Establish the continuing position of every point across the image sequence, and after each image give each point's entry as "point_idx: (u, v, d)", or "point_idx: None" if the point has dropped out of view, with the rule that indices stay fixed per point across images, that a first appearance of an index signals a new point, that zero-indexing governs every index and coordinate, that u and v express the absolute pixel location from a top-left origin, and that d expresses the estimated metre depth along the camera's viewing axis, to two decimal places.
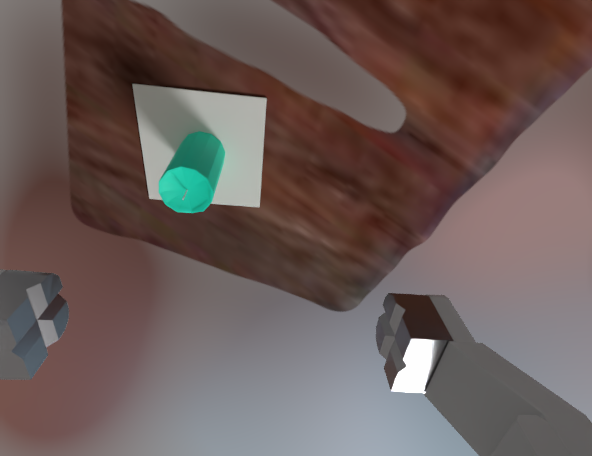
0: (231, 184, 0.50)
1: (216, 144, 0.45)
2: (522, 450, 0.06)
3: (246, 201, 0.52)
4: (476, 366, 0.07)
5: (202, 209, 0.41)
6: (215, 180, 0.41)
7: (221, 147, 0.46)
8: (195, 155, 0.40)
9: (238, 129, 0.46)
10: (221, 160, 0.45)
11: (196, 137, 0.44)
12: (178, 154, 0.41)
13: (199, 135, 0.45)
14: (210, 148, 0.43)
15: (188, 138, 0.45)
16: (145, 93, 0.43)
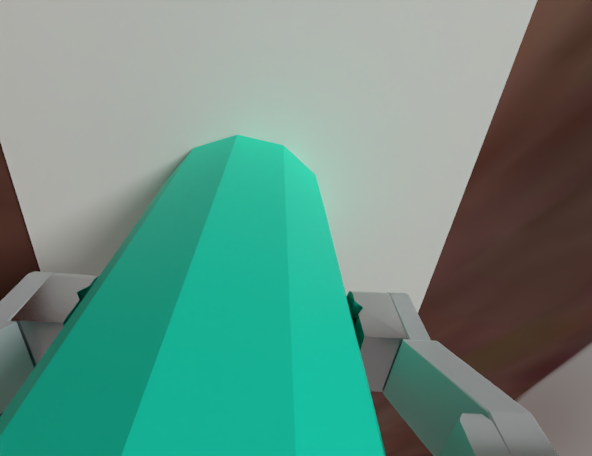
0: (386, 122, 0.12)
1: (174, 174, 0.11)
2: (463, 449, 0.06)
3: (489, 62, 0.11)
4: (428, 364, 0.07)
5: None
6: (158, 318, 0.05)
7: (202, 151, 0.11)
8: None
9: (125, 69, 0.11)
10: (215, 171, 0.09)
11: None
12: None
13: None
14: (142, 217, 0.09)
15: None
16: None
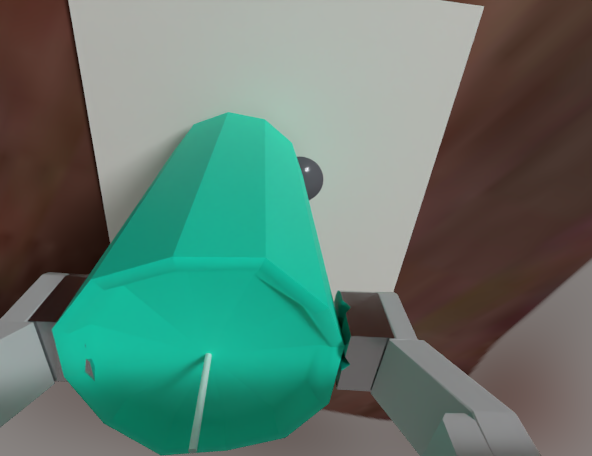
0: (373, 105, 0.16)
1: (180, 143, 0.14)
2: (445, 449, 0.06)
3: (449, 60, 0.15)
4: (413, 363, 0.07)
5: (317, 311, 0.07)
6: (186, 201, 0.08)
7: (201, 125, 0.14)
8: None
9: (183, 64, 0.15)
10: (213, 135, 0.12)
11: None
12: None
13: None
14: (160, 171, 0.12)
15: None
16: None
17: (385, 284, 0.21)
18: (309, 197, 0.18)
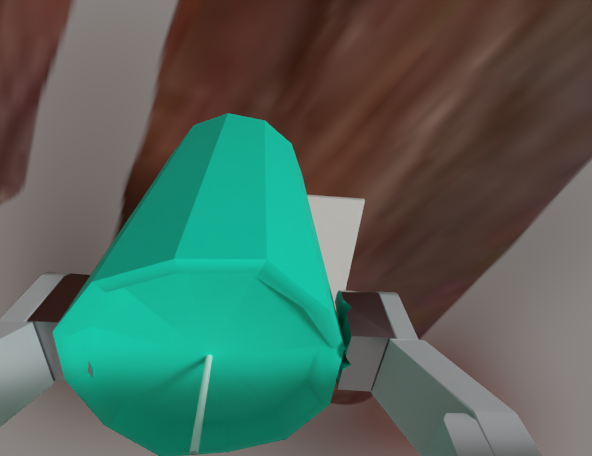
0: None
1: (180, 144, 0.14)
2: (446, 449, 0.06)
3: (351, 221, 0.30)
4: (414, 364, 0.07)
5: (317, 313, 0.07)
6: (186, 203, 0.08)
7: (201, 126, 0.14)
8: None
9: None
10: (213, 136, 0.12)
11: None
12: None
13: None
14: (160, 172, 0.12)
15: None
16: None
17: None
18: None
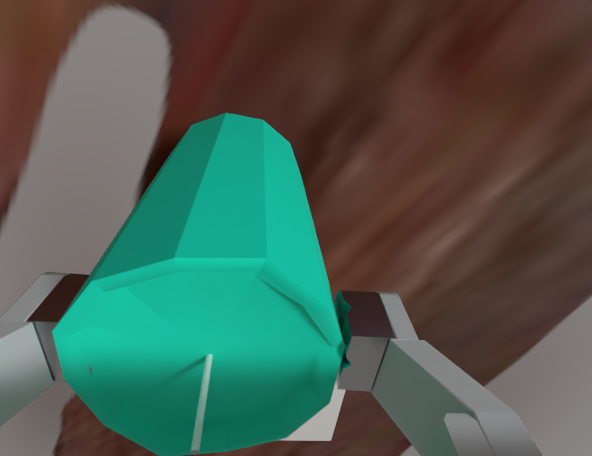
0: None
1: (178, 144, 0.14)
2: (446, 449, 0.06)
3: None
4: (414, 364, 0.07)
5: (318, 311, 0.07)
6: (186, 202, 0.08)
7: (199, 126, 0.14)
8: None
9: None
10: (211, 135, 0.12)
11: None
12: None
13: None
14: (159, 172, 0.12)
15: None
16: None
17: (328, 428, 0.33)
18: None
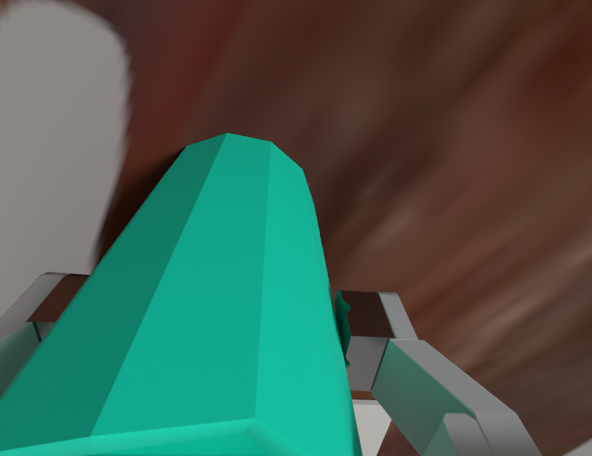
0: None
1: (167, 171, 0.11)
2: (446, 449, 0.06)
3: (376, 425, 0.21)
4: (414, 364, 0.07)
5: None
6: (145, 290, 0.05)
7: (194, 149, 0.12)
8: None
9: None
10: (204, 166, 0.10)
11: None
12: None
13: None
14: (138, 210, 0.10)
15: None
16: None
17: None
18: None
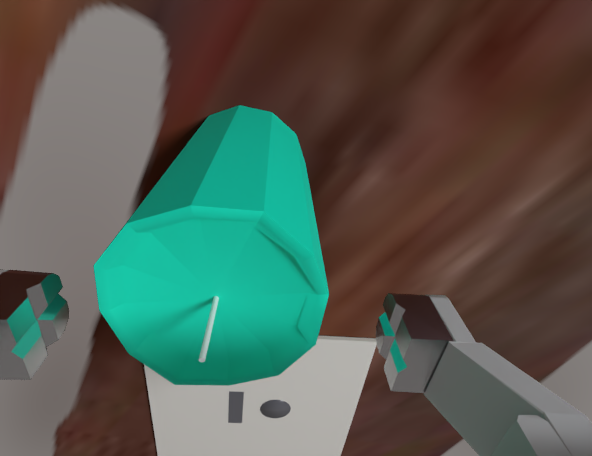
0: (318, 378, 0.26)
1: None
2: (522, 450, 0.06)
3: (360, 361, 0.25)
4: (476, 366, 0.07)
5: (304, 258, 0.08)
6: (201, 170, 0.09)
7: (215, 116, 0.16)
8: None
9: None
10: (225, 123, 0.14)
11: None
12: None
13: None
14: None
15: None
16: (168, 452, 0.30)
17: (335, 451, 0.31)
18: (282, 416, 0.28)
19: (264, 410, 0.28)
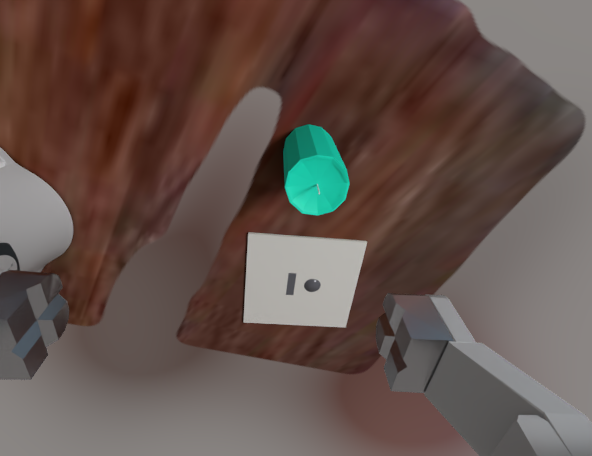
0: (336, 265, 0.49)
1: (293, 135, 0.39)
2: (522, 450, 0.06)
3: (358, 254, 0.49)
4: (476, 366, 0.07)
5: (343, 170, 0.32)
6: (313, 147, 0.33)
7: (299, 129, 0.39)
8: (285, 165, 0.35)
9: (278, 256, 0.48)
10: (308, 132, 0.37)
11: (283, 157, 0.39)
12: None
13: (283, 152, 0.40)
14: (290, 144, 0.37)
15: None
16: (249, 315, 0.54)
17: (344, 317, 0.55)
18: (315, 290, 0.52)
19: (306, 286, 0.51)
